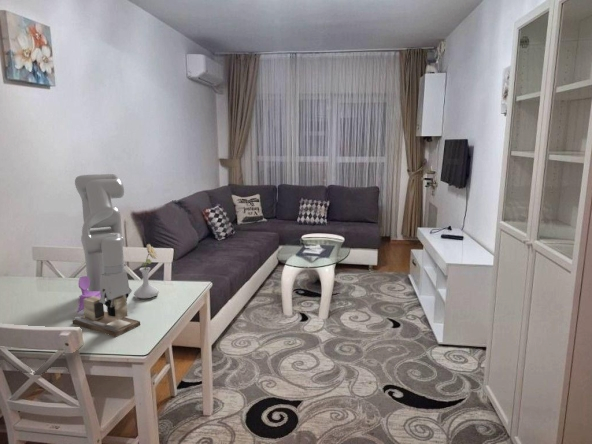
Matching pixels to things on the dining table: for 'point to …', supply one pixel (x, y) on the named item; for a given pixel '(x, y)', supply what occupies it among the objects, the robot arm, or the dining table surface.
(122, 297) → the wooden block
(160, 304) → the dining table surface
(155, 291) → the flower in vase
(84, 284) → the toy chair
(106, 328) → the rail board
